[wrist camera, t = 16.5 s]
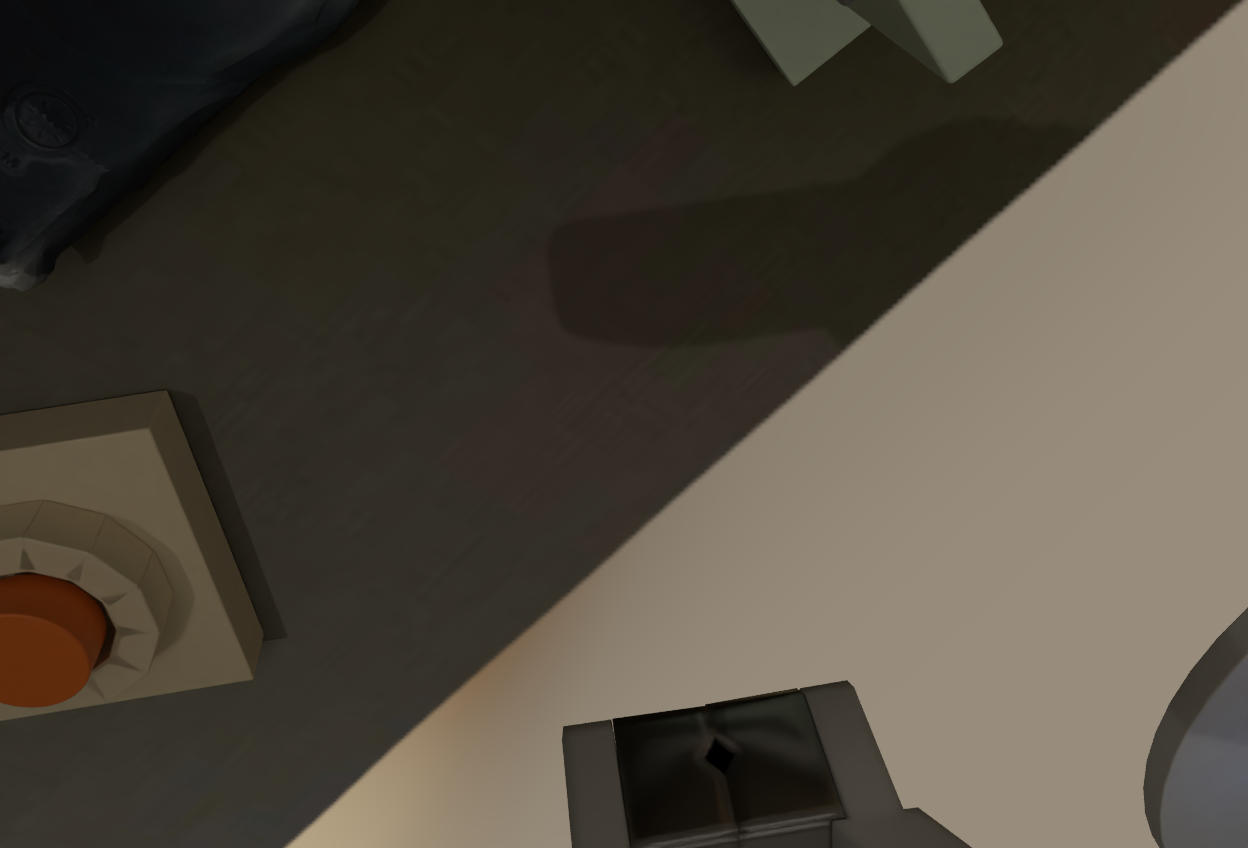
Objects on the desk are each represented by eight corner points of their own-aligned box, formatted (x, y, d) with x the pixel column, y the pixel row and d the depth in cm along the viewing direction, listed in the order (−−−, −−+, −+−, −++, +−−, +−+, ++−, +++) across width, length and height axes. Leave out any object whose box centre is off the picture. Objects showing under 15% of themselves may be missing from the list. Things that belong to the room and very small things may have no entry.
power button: (125, 654, 33) (109, 697, 32) (5, 674, 33) (-17, 718, 32) (80, 563, 31) (60, 605, 30) (-48, 583, 31) (-74, 626, 30)
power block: (264, 633, 38) (244, 721, 35) (3, 676, 38) (-44, 769, 34) (167, 388, 33) (132, 464, 29) (-140, 435, 32) (-211, 518, 29)
